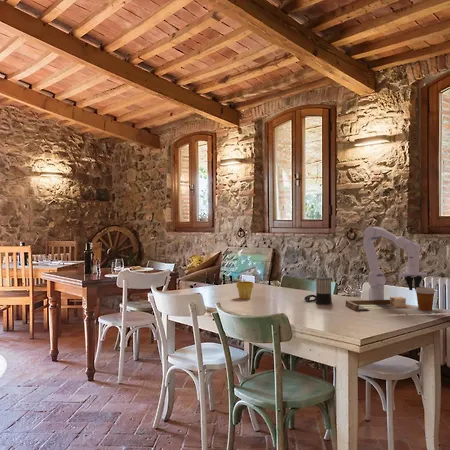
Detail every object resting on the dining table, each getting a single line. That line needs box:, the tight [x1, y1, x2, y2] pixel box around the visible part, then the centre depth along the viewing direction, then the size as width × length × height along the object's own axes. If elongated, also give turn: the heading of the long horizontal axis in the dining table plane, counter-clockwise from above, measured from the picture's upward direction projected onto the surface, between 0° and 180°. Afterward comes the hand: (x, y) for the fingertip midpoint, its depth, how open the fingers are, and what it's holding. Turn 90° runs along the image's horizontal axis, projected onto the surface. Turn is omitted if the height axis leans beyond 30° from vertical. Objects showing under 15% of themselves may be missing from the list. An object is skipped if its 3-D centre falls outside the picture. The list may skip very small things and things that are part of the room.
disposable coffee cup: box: [414, 286, 436, 312], centre depth 233 cm, size 10×10×12 cm
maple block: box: [389, 296, 407, 307], centre depth 244 cm, size 6×6×4 cm
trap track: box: [345, 299, 415, 312], centre depth 244 cm, size 16×32×3 cm, turn 95°
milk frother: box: [304, 276, 333, 306], centre depth 262 cm, size 14×16×15 cm
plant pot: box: [236, 280, 254, 300], centre depth 281 cm, size 10×10×10 cm
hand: (413, 290), depth 245 cm, fingers open, 3 cm apart
